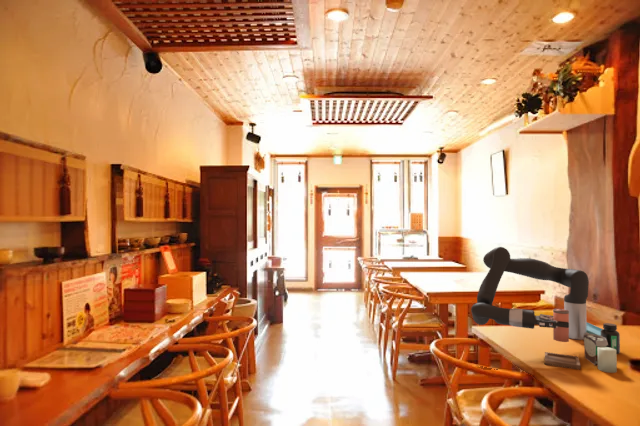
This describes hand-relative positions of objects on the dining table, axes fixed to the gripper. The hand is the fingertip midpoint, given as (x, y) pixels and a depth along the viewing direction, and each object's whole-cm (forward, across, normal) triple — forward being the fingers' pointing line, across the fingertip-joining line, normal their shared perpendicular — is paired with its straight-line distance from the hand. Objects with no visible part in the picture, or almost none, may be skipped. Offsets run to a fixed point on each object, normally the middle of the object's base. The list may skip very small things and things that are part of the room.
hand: (568, 323), depth 165 cm
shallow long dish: (+13, +62, +16) cm, 65 cm away
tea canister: (-3, 0, +7) cm, 7 cm away
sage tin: (+13, -1, +16) cm, 20 cm away
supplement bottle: (+17, +26, +16) cm, 35 cm away
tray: (-2, 0, +16) cm, 16 cm away
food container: (+11, +8, +16) cm, 21 cm away
